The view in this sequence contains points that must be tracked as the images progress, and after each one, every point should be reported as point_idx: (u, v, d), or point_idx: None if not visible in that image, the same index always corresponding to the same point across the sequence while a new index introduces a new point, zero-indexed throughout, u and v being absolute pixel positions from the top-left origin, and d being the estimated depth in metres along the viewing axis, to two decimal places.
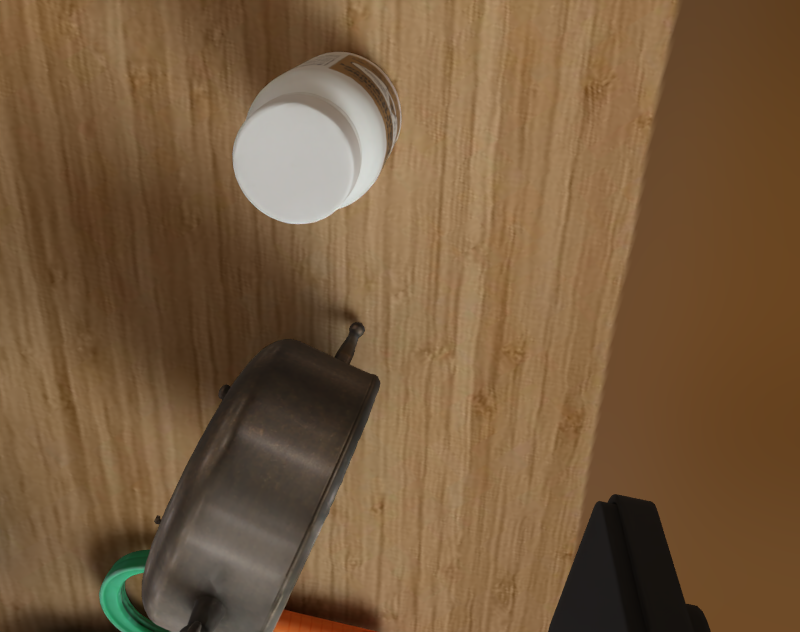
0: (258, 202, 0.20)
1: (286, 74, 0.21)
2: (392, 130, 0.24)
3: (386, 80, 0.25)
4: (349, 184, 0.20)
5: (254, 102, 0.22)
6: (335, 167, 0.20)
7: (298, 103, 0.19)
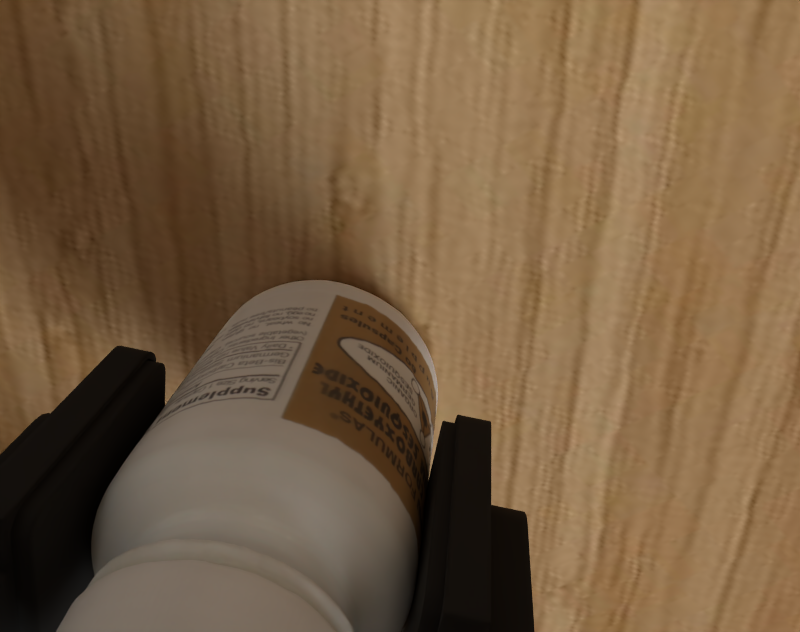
0: None
1: (178, 447, 0.09)
2: (426, 480, 0.11)
3: (410, 344, 0.13)
4: None
5: (106, 500, 0.09)
6: None
7: None
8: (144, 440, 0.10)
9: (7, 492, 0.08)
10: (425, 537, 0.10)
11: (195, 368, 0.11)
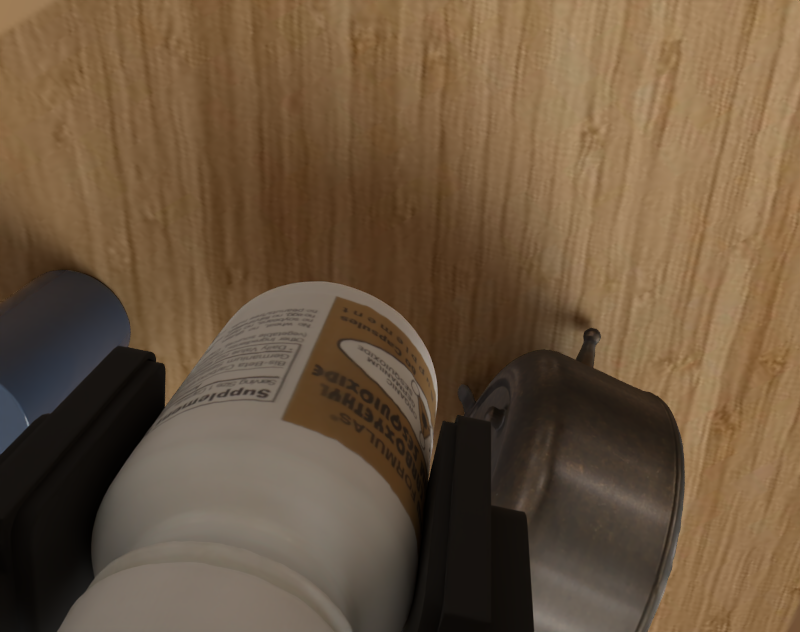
0: None
1: (178, 450, 0.09)
2: (426, 482, 0.11)
3: (410, 346, 0.13)
4: None
5: (106, 502, 0.09)
6: None
7: None
8: (144, 442, 0.10)
9: (6, 491, 0.08)
10: (425, 537, 0.10)
11: (195, 370, 0.11)
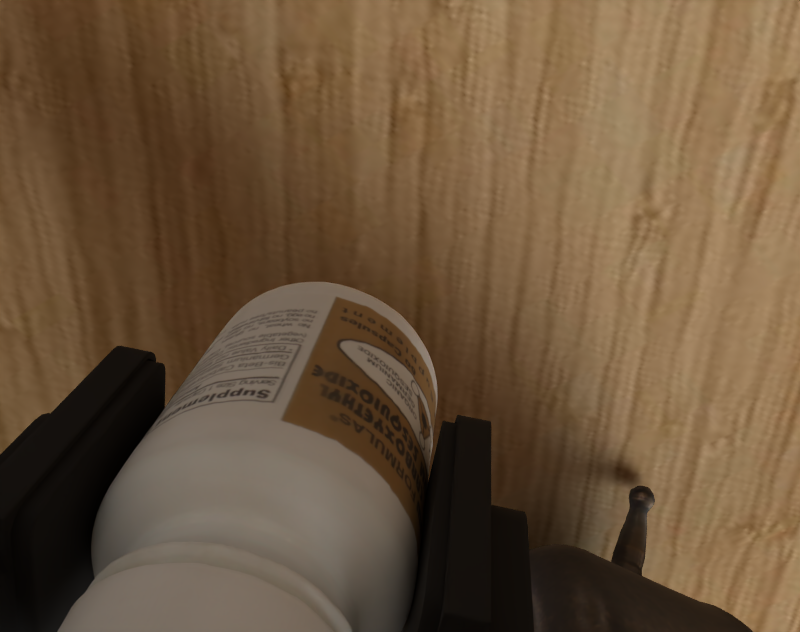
0: None
1: (178, 450, 0.09)
2: (426, 482, 0.11)
3: (410, 346, 0.13)
4: None
5: (106, 503, 0.09)
6: None
7: None
8: (144, 442, 0.10)
9: (7, 492, 0.08)
10: (425, 537, 0.10)
11: (195, 370, 0.11)
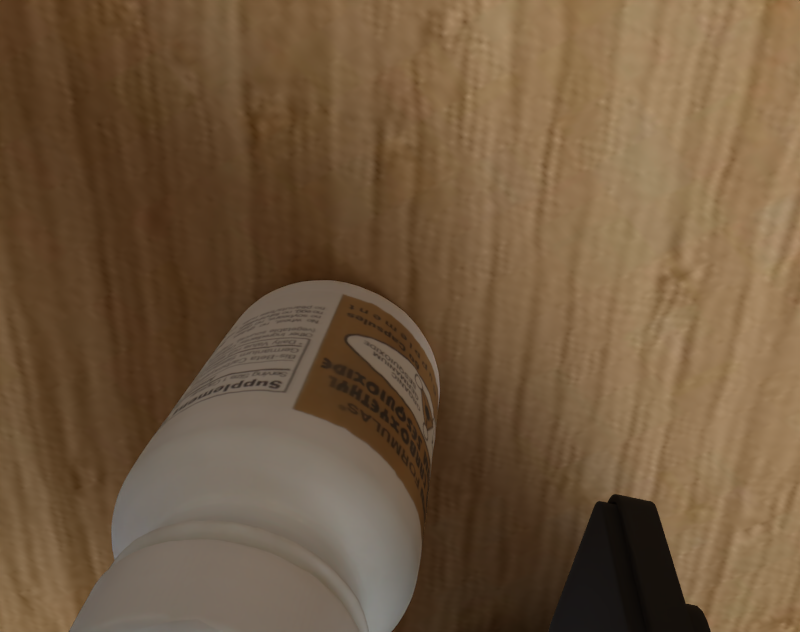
0: None
1: (195, 436, 0.09)
2: (429, 471, 0.12)
3: (413, 342, 0.13)
4: None
5: (127, 486, 0.10)
6: None
7: (200, 619, 0.07)
8: (162, 430, 0.10)
9: None
10: None
11: (208, 363, 0.12)
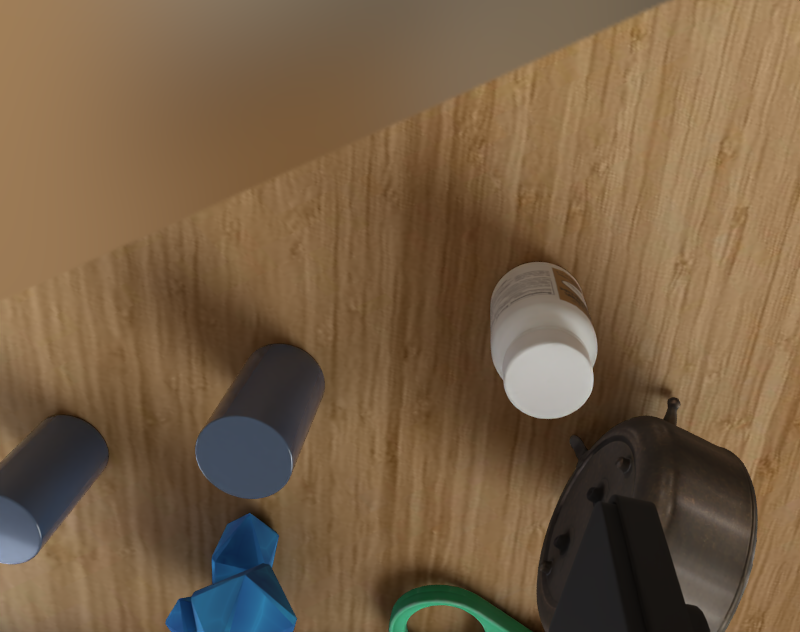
0: (518, 404, 0.28)
1: (532, 305, 0.29)
2: None
3: (578, 286, 0.33)
4: (588, 396, 0.28)
5: (505, 323, 0.30)
6: (580, 384, 0.28)
7: (560, 342, 0.27)
8: (511, 307, 0.30)
9: None
10: None
11: (509, 290, 0.32)
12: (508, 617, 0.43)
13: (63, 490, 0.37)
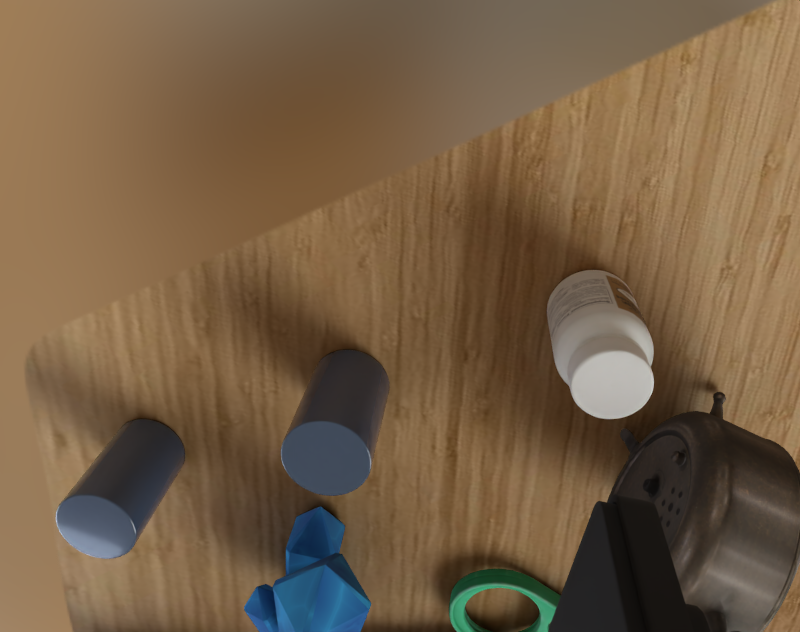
0: (584, 406, 0.31)
1: (593, 314, 0.32)
2: None
3: (631, 292, 0.36)
4: (649, 397, 0.30)
5: (568, 331, 0.32)
6: (641, 387, 0.30)
7: (623, 350, 0.30)
8: (573, 315, 0.33)
9: None
10: None
11: (567, 298, 0.34)
12: None
13: (151, 490, 0.40)
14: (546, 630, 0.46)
